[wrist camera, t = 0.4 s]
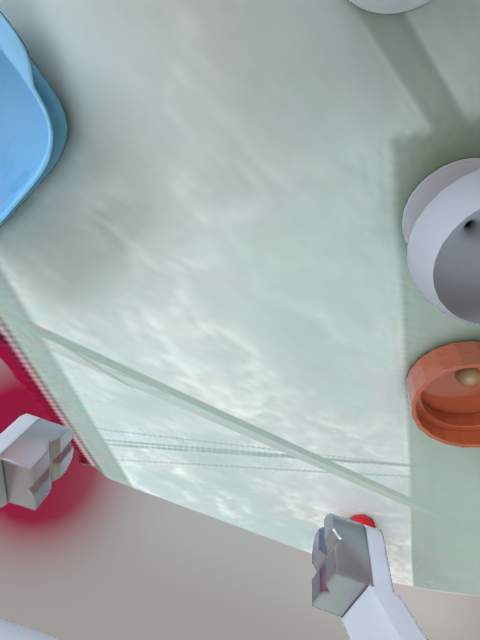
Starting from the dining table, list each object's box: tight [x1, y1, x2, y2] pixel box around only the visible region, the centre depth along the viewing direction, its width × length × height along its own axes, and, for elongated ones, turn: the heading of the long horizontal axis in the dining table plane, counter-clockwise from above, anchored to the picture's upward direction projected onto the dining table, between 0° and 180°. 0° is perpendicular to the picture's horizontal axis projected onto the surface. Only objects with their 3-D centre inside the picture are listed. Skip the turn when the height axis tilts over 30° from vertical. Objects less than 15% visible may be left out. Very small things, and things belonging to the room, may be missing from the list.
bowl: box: [406, 341, 480, 447], centre depth 49 cm, size 15×15×6 cm
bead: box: [455, 368, 480, 387], centre depth 48 cm, size 3×3×3 cm
